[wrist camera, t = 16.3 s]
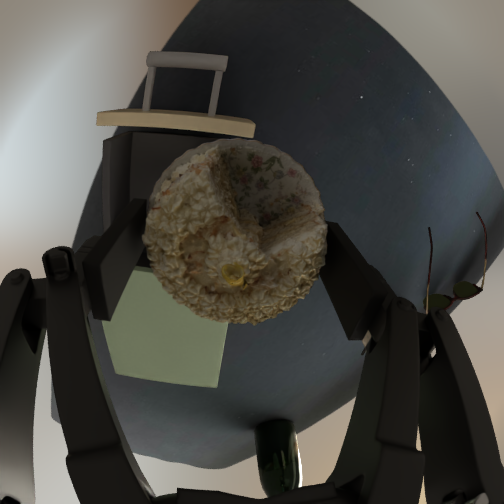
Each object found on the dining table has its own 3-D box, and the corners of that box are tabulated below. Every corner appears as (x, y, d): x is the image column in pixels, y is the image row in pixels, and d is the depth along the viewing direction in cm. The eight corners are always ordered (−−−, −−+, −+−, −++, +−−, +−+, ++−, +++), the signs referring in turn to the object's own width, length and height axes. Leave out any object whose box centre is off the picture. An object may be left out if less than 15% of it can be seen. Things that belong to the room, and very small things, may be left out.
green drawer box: (119, 225, 32) (91, 264, 25) (233, 238, 35) (235, 282, 27) (129, 329, 41) (115, 373, 34) (217, 341, 44) (216, 387, 36)
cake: (279, 306, 20) (287, 371, 15) (137, 265, 17) (110, 328, 13) (353, 180, 14) (397, 229, 10) (174, 111, 12) (135, 130, 8)
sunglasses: (414, 302, 43) (427, 318, 39) (416, 225, 37) (435, 239, 32) (469, 278, 42) (484, 291, 38) (477, 207, 36) (495, 217, 31)
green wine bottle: (277, 415, 59) (295, 539, 30) (301, 424, 63) (322, 533, 35) (245, 428, 62) (255, 543, 33) (270, 436, 66) (284, 539, 38)
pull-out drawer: (133, 58, 22) (106, 48, 16) (259, 68, 24) (269, 57, 18) (122, 250, 33) (102, 284, 27) (225, 262, 35) (225, 300, 29)
